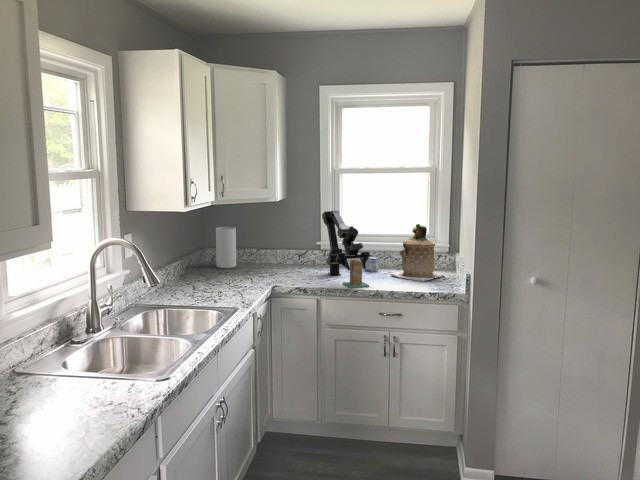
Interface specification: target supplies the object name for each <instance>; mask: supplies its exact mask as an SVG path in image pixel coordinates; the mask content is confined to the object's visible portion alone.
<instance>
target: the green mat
mask: <svg viewBox="0 0 640 480" xmlns="http://www.w3.org/2000/svg"><path fill="white" fill-rule="evenodd" d="M342 285H344V286H346V287H347V288H350V289H357V288H358V289H359V288H360V289H361V288H369V287H370V284H368V283H365V282H364V281H362V284H359V285H353V284H351V283H350V281H342Z"/></svg>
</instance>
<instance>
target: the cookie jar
mask: <svg viewBox="0 0 640 480" xmlns="http://www.w3.org/2000/svg"><path fill="white" fill-rule="evenodd" d="M412 233H413V235H412V236H411V237H409V238H408V239H407V240H405V239H404V241H403V244H402V247H403V250H402V249H400V250H399V251H398V253H399V255H400V257H401V258H402V260H401V265H400V266H401V267H402V270H400V271H396V272H389V275H390V276H393V277H395V278H397V279H398V278H401V279H406V280H413V281H418V282H422V283H425V281H430V280H435V279H437V278H438V277H439V278H443V277H442V276H444V277H445V273H442V272H434V270H435V261H436V259H435V246H436V242H434V241H430V240H429V239H428V238H427V227H426V226H424V225H421V224H419V223H417V224H415V226H414V227H413V228H412ZM434 278H435V279H434ZM439 278H438V279H439Z"/></svg>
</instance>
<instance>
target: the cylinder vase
mask: <svg viewBox="0 0 640 480" xmlns="http://www.w3.org/2000/svg"><path fill="white" fill-rule="evenodd" d="M236 228H237V227H235V226H218V227H215V244H216V245H215V247H216V248H215V253H216V255H215V256H216V258H215V259H216V262H215V263H216V268H219V269H232V268H235V267H236V266H237V229H236Z"/></svg>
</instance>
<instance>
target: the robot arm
mask: <svg viewBox="0 0 640 480" xmlns="http://www.w3.org/2000/svg"><path fill="white" fill-rule="evenodd" d="M321 218H322V221H323V223H324V225H325V226H326V228H327V236H328V241H329V248H330V250H329V252H328V256H327V257H326V258H327V259H326V265H328V266H329V272H327V273H328V275H329V276H341V275H342V274H341V273H340V265H342V266H343V267H344V268H345V269H346V270H347V271H350V264H349V263H348V260H349V259H350V260H355V259H356V260H357V259H360V260H359V261H362V270H365V265H366V261H367V260H368V258H369V257H371V253H370V251H361V253H360V250H362V249H363V248H364V245H363V243H362V242H358V243H354V242H355V241H356V239H357V237H358V235H359V230H358V229H357V228H355V227H354V225H351V226H349V225H347V224H346V223H345V222H344V220H343V218H342V216H341V214H340V211H339V210H329V211H328V210H327V211H324V212H323V213H322V215H321ZM336 229H337V230H336ZM337 236H338V237H339V239H342V241H341V245H342V246H343V248H344V252H343V249H342V248H340V247H339V244H338V243H339V242H338V238H337ZM359 253H360V254H359Z"/></svg>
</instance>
